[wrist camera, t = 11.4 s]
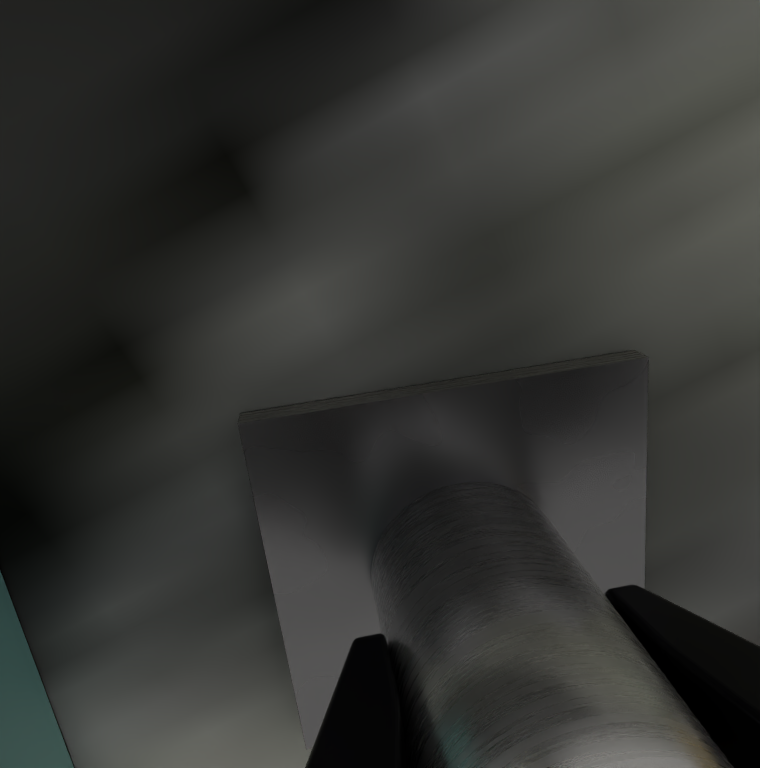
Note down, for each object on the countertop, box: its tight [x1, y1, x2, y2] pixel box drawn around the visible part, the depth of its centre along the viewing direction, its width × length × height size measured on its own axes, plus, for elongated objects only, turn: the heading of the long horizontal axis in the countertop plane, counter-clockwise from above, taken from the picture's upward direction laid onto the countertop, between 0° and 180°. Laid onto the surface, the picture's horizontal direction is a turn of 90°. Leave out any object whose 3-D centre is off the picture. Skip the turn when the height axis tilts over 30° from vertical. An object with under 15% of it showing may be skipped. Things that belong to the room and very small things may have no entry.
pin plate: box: [238, 350, 649, 749], centre depth 10 cm, size 6×6×1 cm
